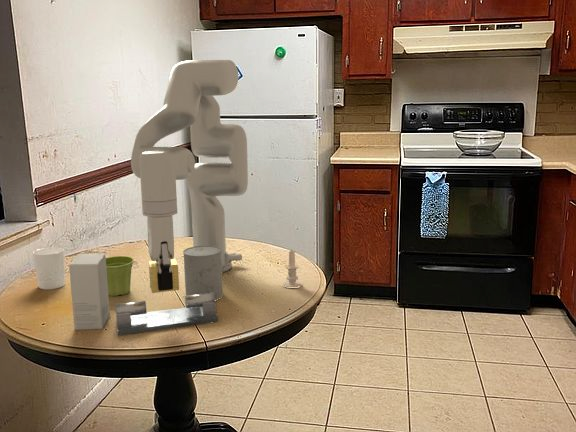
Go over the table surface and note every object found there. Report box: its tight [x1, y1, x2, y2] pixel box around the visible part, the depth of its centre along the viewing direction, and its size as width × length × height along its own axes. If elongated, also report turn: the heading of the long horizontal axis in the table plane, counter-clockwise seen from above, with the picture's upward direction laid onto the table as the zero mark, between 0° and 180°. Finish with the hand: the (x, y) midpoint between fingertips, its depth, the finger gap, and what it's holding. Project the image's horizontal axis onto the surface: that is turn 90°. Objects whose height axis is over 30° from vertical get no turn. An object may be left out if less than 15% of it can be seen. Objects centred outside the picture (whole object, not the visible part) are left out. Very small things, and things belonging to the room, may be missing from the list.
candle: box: [282, 249, 303, 287], centre depth 152 cm, size 5×5×10 cm
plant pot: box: [106, 255, 135, 297], centre depth 148 cm, size 9×9×9 cm
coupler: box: [148, 258, 180, 294], centre depth 128 cm, size 6×4×7 cm
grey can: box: [182, 246, 224, 301], centre depth 144 cm, size 10×10×12 cm
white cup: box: [32, 246, 66, 290], centre depth 154 cm, size 8×8×10 cm
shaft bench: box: [115, 292, 219, 336], centre depth 130 cm, size 22×9×6 cm, turn 108°
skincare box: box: [68, 252, 111, 331], centre depth 128 cm, size 8×7×16 cm
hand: (164, 285), depth 128 cm, fingers closed on coupler, 4 cm apart
